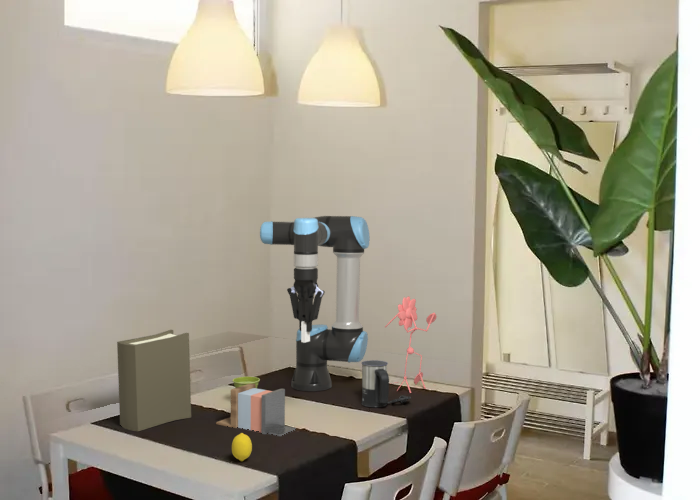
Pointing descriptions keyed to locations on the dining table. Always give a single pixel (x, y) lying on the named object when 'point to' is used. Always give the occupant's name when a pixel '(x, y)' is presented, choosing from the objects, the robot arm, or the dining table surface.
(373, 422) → the dining table surface
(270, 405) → the bookend
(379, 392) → the milk frother
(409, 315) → the pink daisy dancer statuette
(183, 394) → the book
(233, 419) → the shelf end
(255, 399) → the red block
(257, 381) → the plant pot
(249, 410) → the blue block
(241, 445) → the lemon
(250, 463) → the dining table surface
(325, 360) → the robot arm
